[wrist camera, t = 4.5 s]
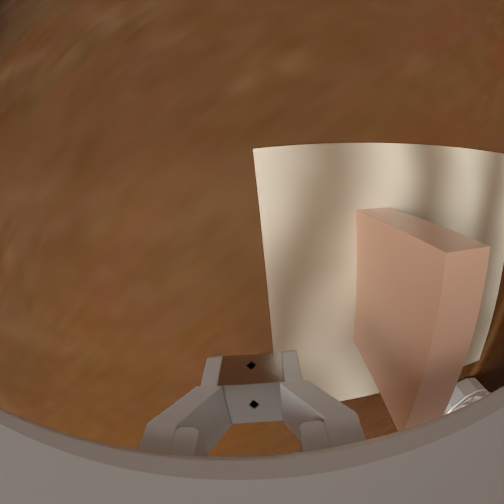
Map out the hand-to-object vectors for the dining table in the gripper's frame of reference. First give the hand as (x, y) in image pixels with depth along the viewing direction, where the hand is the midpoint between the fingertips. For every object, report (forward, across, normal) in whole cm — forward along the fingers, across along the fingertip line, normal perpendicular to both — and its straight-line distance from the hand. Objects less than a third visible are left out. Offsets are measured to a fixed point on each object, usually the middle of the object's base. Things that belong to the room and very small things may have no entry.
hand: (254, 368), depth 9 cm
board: (+8, -10, +1) cm, 12 cm away
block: (+6, -7, 0) cm, 9 cm away
